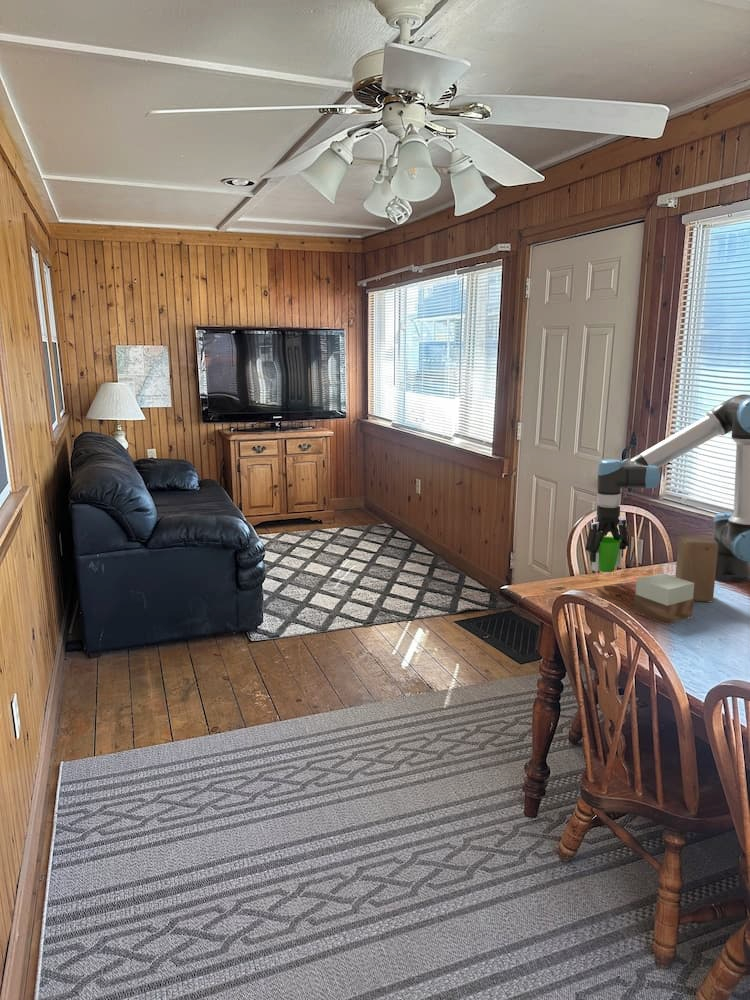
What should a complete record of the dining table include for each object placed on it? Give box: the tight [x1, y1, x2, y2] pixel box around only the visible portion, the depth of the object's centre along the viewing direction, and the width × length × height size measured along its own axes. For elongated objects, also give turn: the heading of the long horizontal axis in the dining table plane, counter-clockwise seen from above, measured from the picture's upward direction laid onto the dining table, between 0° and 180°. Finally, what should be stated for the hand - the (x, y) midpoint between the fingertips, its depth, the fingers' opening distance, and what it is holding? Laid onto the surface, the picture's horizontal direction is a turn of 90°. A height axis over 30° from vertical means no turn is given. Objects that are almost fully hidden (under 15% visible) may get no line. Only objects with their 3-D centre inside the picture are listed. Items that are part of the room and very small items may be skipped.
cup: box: [597, 535, 621, 573], centre depth 234 cm, size 9×9×11 cm
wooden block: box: [674, 534, 718, 603], centre depth 220 cm, size 10×10×20 cm
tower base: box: [632, 593, 695, 625], centre depth 208 cm, size 12×12×6 cm
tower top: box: [635, 572, 694, 606], centre depth 206 cm, size 12×12×5 cm
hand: (606, 568), depth 235 cm, fingers closed on cup, 9 cm apart
